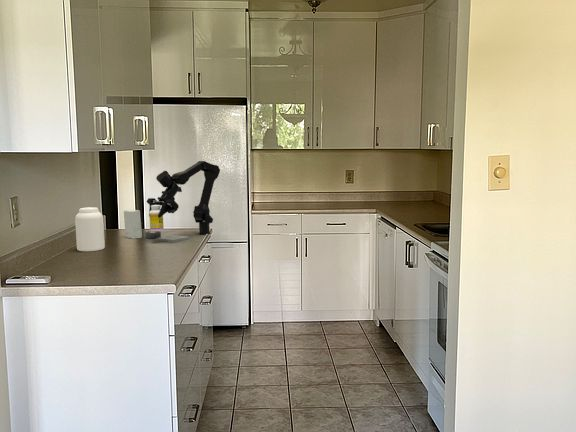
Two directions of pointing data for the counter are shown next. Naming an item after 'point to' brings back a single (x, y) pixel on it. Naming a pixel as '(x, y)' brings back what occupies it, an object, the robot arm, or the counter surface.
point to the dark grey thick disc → (152, 235)
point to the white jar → (89, 230)
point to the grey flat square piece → (173, 238)
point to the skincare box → (132, 224)
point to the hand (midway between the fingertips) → (154, 216)
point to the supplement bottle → (155, 219)
